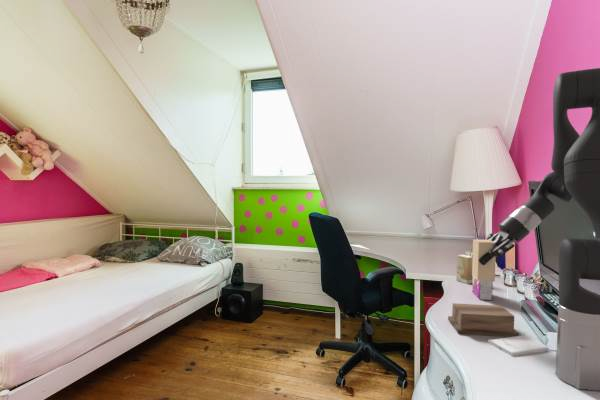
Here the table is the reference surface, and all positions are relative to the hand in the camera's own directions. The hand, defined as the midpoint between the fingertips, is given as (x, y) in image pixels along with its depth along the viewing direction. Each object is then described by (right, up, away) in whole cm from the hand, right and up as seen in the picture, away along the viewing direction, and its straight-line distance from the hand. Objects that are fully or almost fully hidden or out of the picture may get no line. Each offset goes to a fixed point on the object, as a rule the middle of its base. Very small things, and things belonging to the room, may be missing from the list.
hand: (477, 260), depth 112 cm
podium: (+2, -22, +1) cm, 22 cm away
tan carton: (+2, -6, 0) cm, 6 cm away
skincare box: (+21, -19, +54) cm, 61 cm away
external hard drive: (+5, -23, -12) cm, 26 cm away
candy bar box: (+18, -20, +33) cm, 43 cm away
